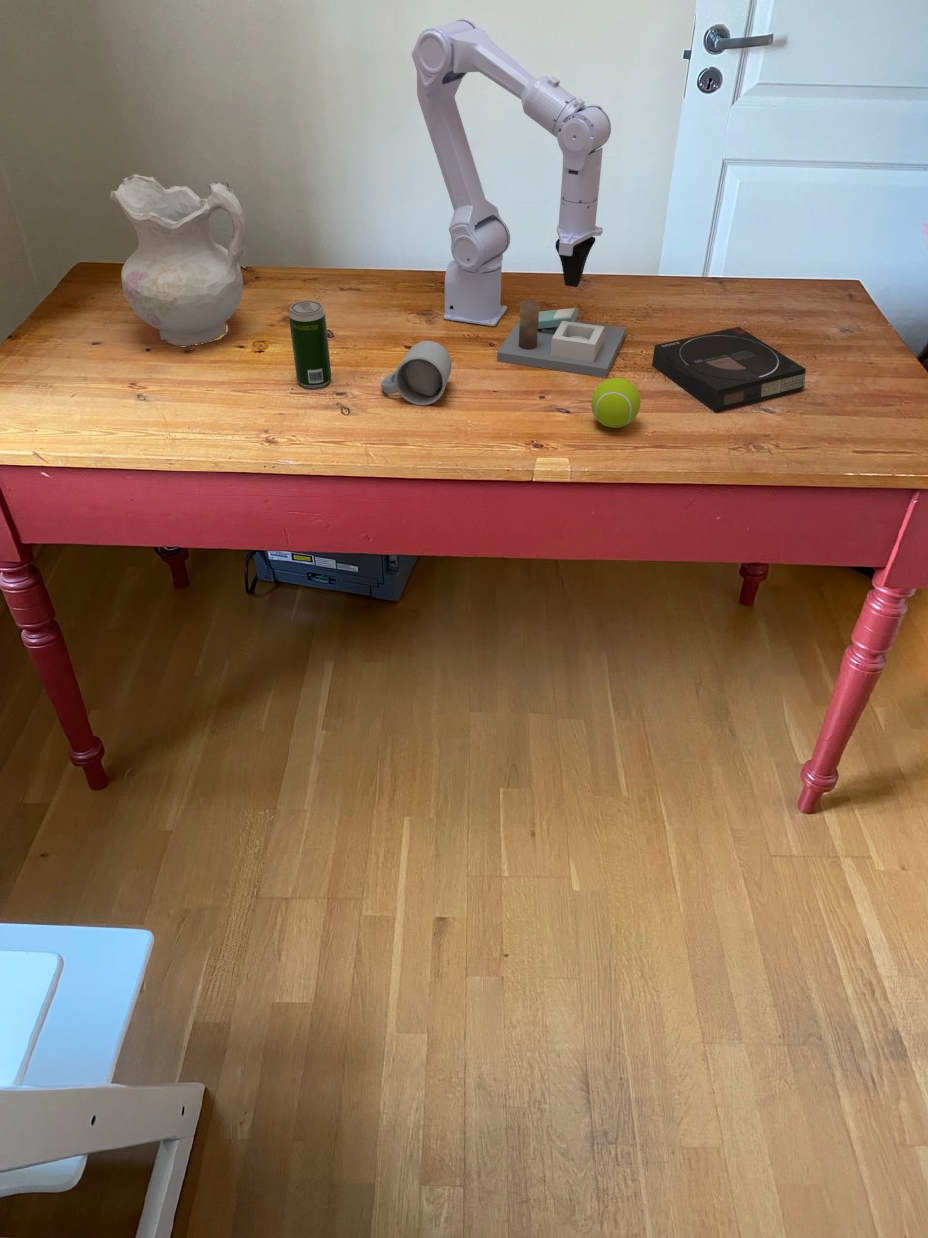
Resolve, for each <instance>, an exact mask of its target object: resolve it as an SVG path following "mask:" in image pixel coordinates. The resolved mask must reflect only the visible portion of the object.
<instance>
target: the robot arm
mask: <svg viewBox="0 0 928 1238" xmlns="http://www.w3.org/2000/svg"><path fill="white" fill-rule="evenodd" d="M411 58H412V60H413V63H414V66H415V69H416V96H417V100H418V103H419V105H420V110H421V112H422V115H423V119H424V121H425V125H426V127H427V131H428V133H429V138H430V140H431V141H430V142H431V143H432V146H433V149H434V153H435V156H436V159H437V161H438V165H439V168H440V171H441V175H442V177H443V178H442V179H443V181H444V184H445V186H446V189H447V193H448V196H449V198H450V203H451V206H452V208H453V214H452V218H451V219H450V223H449V226H448V231H449V234H450V235H449V236H450V239H451V245H450V250H451V254H452V255H451V256H452V258H453V260H450V262H449V263H448V265H447V267H446V271H445V276H444V315H443V319H444V320H447V321H455V322H463V323H470V324H474V325H475V324H477V325H484V326H490V327H495V326H496V325H497V323H499V321H500V320H501V318H502V317H503V316H504V314H505V313H506V312H507V310H508V306H507V305H501V297H502V296H501V295H502V294H501V293H502V292H501V291H502V268H503V266H502V264H503V259H504V253H505V252H506V251H507V250H508V249H509V247H510V244H511V233H510V231H509V230H510V229H509V228H508V226H507V224H506V222H504V221H503V219H502V217H501V216H500V213H499V209H498V208H497V206H496V205H494V204H493V203H491V202H490V201H489V200H487V199H486V196H485V192H484V190H483V185H482V183H481V180H480V176H479V173H478V170H477V166H476V164H475V160H474V157H473V152H472V150H471V147H470V144H469V141H468V137H467V134H466V129H465V127H464V125H463V121H462V117H461V115H460V111H459V109H458V104H457V100H456V98H455V97H456V94H457V92H458V90H459V87H460V85H461V83H462V81H463V79H464V77H465V76H466V75H467V74H468V73H476V72H478V73H480V74H482V75H484V76H485V77H486V78H488V79H489V80H491V81H493V82H494V83H496V85H498V86H500V87H501V88H503V89H504V90H506V91H508V92H509V93H511V94H512V95H514V97H516V98H518V99H519V100H521V103H522V110H523V113H524V114H525V115H526V116H527V117H529V119H532V121H534V122H535V123H536V124H538V125H539V126H540V127H542V128H544V129H545V130H546V132H549V133H550V134H551V135H552V136H554V137H555V138H556V139H557V144H558V147H559V149H560V151H561V153H562V172H561V173H562V174H561V185H560V186H561V187H560V198H559V199H560V201H559V215H558V224H557V225H556V233H557V236H558V239H557V240H556V241H555V246H554V247H555V250H556V252H557V254H558V256H559V259H560V263H561V268H562V275H563V281H564V285H565V287H572V288H578V287H579V286H580V283H581V280H582V277H583V273H584V270H585V266H586V261H587V259H588V256H589V254H590V252H591V250H592V248H593V245H594V244H595V243H596V237H600V236H601V235H603V230H604V228H603V227H600V226H597V225H596V223H597V213H598V212H597V211H598V201H599V194H600V193H599V191H600V182H601V181H600V180H601V172H602V171H601V170H602V161H603V146H604V145H605V144H607V142H608V141H609V138H610V136H611V133H612V122H611V120H610V116H609V115H608V114H607V113H606V111H605V110H604V109H603V107H601V105H597V104H588V105H586V104H585V103H586V101H585V100H584V99H582V98H581V97H578V98H576V96H574V95H573V94H571V93H570V92H569V91H567V90H566V89H565V88H563V87H562V86H561V85H560V83H561V80H560V79H558V78H557V77H556V76H554V75H553V76H551V77H549V76H548V75H542V76H539V77H537V78H535V77H534V76H533V75H532V74H531V72H528V71H527V70H526V69H525V68H524V67H523V66H522V65H520V64H519V63H518V62H517V61H516V60H514V58H512V57H511V56H510V55H509V54H508V53H507V52H505V51H504V50H503V49H502V48H501V47H499V46H498V45H497V43H495V42H494V41H493V40H492V39H491V38H490V36H489V34H488V33H487V31H486V30H485V29H483V28H481V27H477V25H476V24H475V23H474V22H473V21H471V20H469V19H466V18H461V19H460V18H459V19H457V20H456V21H454V22H450V23H447V24H443V25H439V26H436V27H433V26H432V27H427V28H425V29H424V30H422V31H421V33H420V34H419V35H418V37H417V40H416V42H415V45H414V47H413V50H412V53H411Z"/></svg>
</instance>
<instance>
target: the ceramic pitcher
mask: <svg viewBox="0 0 928 1238" xmlns="http://www.w3.org/2000/svg"><path fill="white" fill-rule="evenodd" d="M120 182H121V184H119V186H118V188H117V190H113V191H111V192H110V193H109V198H110V200H111V201H112V202H114V203H116V204H118V205H119V206H120V208H121V209H122V211H123V213H124V214H125V216H126V218H127V219H128V220H129V222H130V223H131V225H132V227H133V228H134V230H135V233H136V236H137V239H138V246H137V248H136V250H135V251H133V252H132V254H131V255H130V256H129V257H128V259H127V260H125V262H124V264H123V265H122V268H121V273H120V274H121V275H120V277H121V286H122V291H123V296H124V297H125V298H126V301H127V303H128V304H129V307H130V308H131V310H132V311H133V312H134V313H135V314H136V315H137V316H138V317H139V318H140V319H141V320H142V322H144V323H146V325H149V326H150V327H153V328H155V329H156V330H157V329H158V330H159V331H158V332H159V338H160V339H161V338H162V339H163V340H164V341H165V343H166V342H167V343H166V344H168V343H169V345H172V346H176V347H179V346H189V347H192V346H191V345H195V344H201V343H206V342H210V341H213V340H215V339H217V338H219V337H220V336H221V335H223V334H225V333H226V325H228V324H227V323H226V321H227V320H229V319H231V318H232V316H233V315H234V313H235V311H237V308H238V307H239V304H240V302H241V299H242V296H243V291H244V281H243V278H244V277H243V274H242V270H241V265H240V263H239V260H240V259H241V258H242V255H243V253H244V246H245V243H246V239H247V229H246V228H247V227H246V220H245V215H244V211H243V208H242V205H241V203H240V201H239V199H238V197H237V196H236V195H235V194H234V189H233V187H232V186H229V183H228V182H224V181H219V182H217V181H216V182H213V183H210V184H207V188H208V190H209V195H208V197H207V198H201V197H200V196H199V195H197V194H196V192H194V191H193V190H192V189H191V188H190V187H188V186H187V185H185V186H178V185H176V186H175V185H174V186H169V187H167V188H166V187H163V186H162V185H161V183H159V182H158V181H157V179H156V178H154V177H153V176H152V175H151V176H149V177H147V176H145V175H140V174H138V173H136V174H135V173H134V174H132V175H126V177H125V178H123V179H121V181H120ZM221 209H222V210H224V211H226V212H227V213H228V215H229V216H230V219H231V222H232V227H233V230H232V235H231V239H230V242H229V243H228V244H229V245H228V249H226V247H224V246H223V245H220V244H218V243H216V242H215V241H214V239H213V237H212V235H211V231H210V217H211V216H212V214H213V213H214V212H216V211H217V210H221ZM224 322H225V323H224ZM162 339H161V340H162ZM163 340H162V341H163ZM164 341H163V342H164ZM210 343H211V342H210ZM206 344H207V343H206ZM201 345H202V344H201ZM195 346H196V345H195Z"/></svg>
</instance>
